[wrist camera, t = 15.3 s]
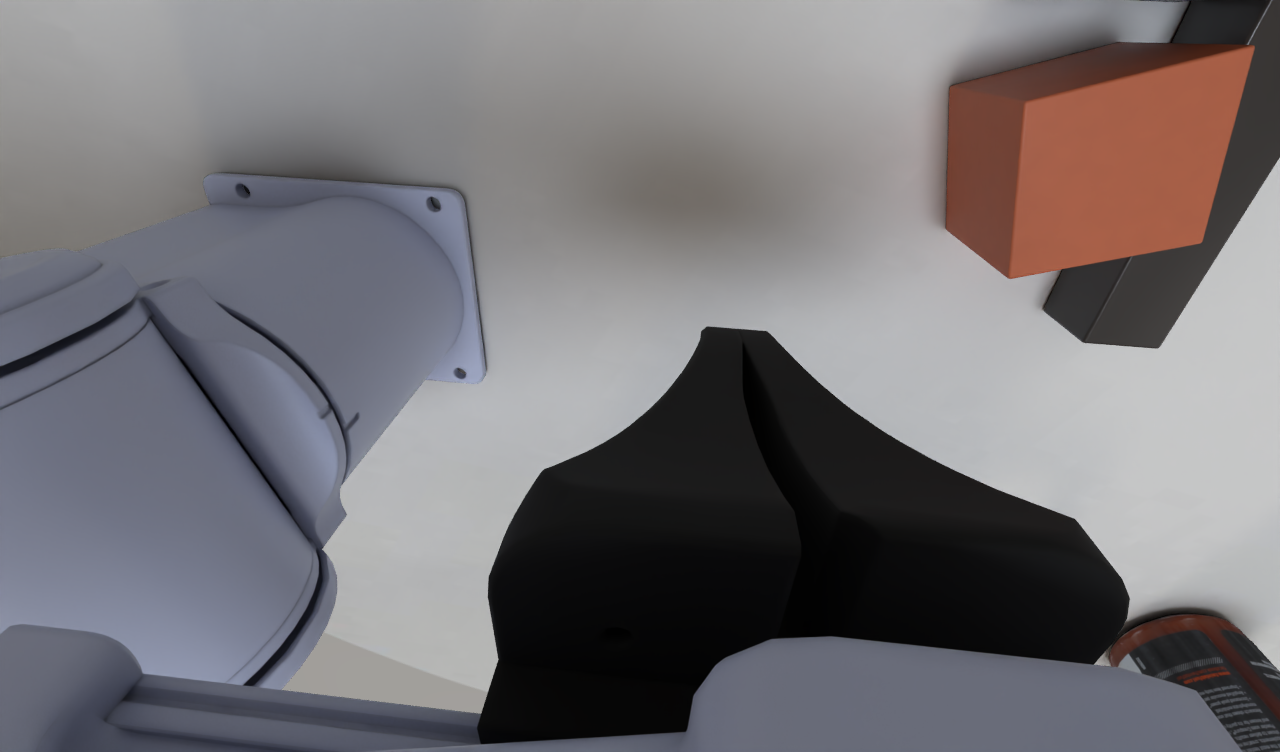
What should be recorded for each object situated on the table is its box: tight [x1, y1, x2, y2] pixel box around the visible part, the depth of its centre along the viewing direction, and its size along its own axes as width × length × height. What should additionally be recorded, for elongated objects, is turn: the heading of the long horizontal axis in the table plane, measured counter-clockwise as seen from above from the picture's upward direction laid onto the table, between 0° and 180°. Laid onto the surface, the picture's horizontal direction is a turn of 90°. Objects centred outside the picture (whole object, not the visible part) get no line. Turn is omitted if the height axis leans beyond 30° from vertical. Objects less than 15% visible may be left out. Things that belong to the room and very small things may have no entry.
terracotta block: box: [946, 42, 1255, 279], centre depth 15 cm, size 4×4×4 cm
